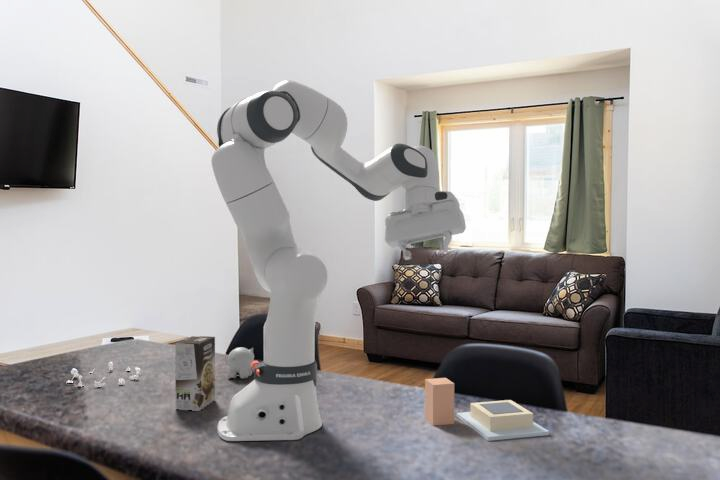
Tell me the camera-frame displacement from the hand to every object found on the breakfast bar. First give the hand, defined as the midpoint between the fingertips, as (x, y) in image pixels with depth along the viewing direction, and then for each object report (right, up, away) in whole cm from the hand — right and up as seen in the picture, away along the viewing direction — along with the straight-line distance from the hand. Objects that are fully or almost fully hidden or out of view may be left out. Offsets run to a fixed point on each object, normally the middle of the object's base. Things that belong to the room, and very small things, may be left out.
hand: (425, 255), depth 149 cm
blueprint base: (+15, -37, -14) cm, 42 cm away
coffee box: (-56, -37, +1) cm, 67 cm away
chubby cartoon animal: (-49, -35, +29) cm, 67 cm away
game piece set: (-87, -36, +25) cm, 98 cm away
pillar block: (+2, -37, -11) cm, 39 cm away
